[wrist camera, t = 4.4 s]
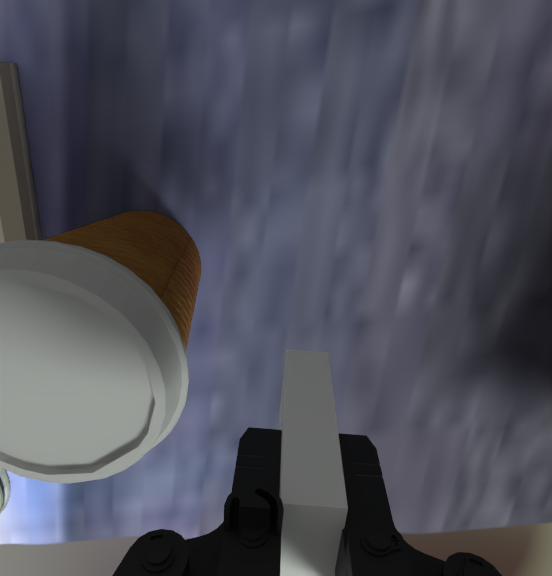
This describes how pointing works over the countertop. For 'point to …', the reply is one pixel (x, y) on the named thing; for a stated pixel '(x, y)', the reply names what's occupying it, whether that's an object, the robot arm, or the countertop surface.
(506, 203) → the countertop surface
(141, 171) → the countertop surface
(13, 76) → the cream flat rectangular board
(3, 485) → the coffee can
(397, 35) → the countertop surface
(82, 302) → the disposable coffee cup
